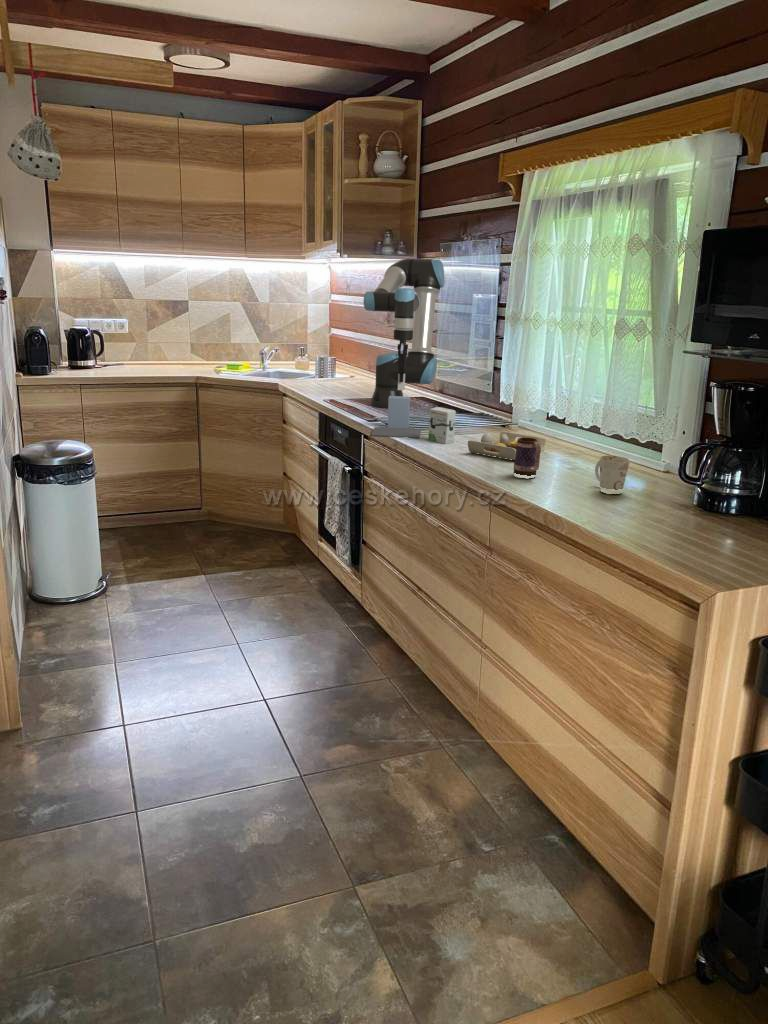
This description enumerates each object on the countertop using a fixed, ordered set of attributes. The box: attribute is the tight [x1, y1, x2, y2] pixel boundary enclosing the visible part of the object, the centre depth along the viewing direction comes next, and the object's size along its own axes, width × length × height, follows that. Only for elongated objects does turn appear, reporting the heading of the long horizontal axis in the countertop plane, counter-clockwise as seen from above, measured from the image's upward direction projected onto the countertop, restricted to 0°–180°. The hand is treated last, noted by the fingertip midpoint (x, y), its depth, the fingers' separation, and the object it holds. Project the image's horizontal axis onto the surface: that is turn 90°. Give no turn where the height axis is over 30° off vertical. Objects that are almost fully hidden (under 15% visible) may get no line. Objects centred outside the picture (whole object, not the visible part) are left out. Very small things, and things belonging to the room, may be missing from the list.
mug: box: [594, 455, 631, 490], centre depth 229 cm, size 8×13×10 cm, turn 24°
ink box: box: [427, 406, 457, 445], centre depth 285 cm, size 9×5×12 cm, turn 47°
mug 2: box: [513, 437, 542, 476], centre depth 240 cm, size 10×7×12 cm
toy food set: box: [467, 430, 547, 461], centre depth 273 cm, size 25×18×8 cm
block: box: [387, 395, 411, 429], centre depth 306 cm, size 5×8×12 cm, turn 85°
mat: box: [370, 426, 422, 439], centre depth 298 cm, size 14×18×1 cm
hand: (401, 389), depth 314 cm, fingers closed
